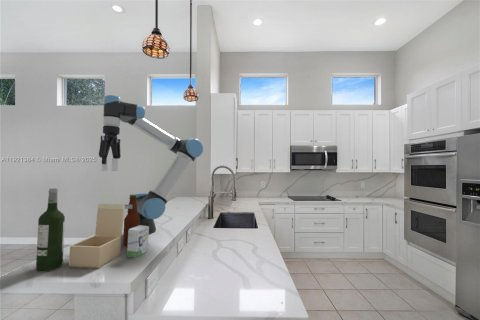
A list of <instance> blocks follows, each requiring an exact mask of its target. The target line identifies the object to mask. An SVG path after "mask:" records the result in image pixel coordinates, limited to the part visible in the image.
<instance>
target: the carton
mask: <svg viewBox="0 0 480 320" xmlns="http://www.w3.org/2000/svg"><path fill="white" fill-rule="evenodd" d="M121 240H122V236H121V237H120V236H95V235H93V236H90V237H88V238H87V239H84V240H81V241H79V242H77V243H75V244H72V245H69V264H68V268H80V269H101V268H102V267H104V266H105V265H107V264H109V263H110V262H112V261H114V260H115V259H116V258H118V257H120V256H121V247H122V246H121V245H122V241H121Z"/></svg>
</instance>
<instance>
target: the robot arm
mask: <svg viewBox="0 0 480 320" xmlns="http://www.w3.org/2000/svg"><path fill="white" fill-rule="evenodd" d="M103 99H104V100H103V118H102V119H103V120H102V122H103V126H102V134H104V135H100V143H99V150H98V157H99V158H101V170H100V171H101V172H108V171H109V157H108V155H109V152H110V150H111V155H112V158H111V172H118V167H119V166H118V165H119V162H118V161H119V159H121V139H120V138H118V136H119V135H120V131H121V130H120V127H121V122H123V123H125V124H129V125H130V126H132V127H134V128H136V129H137V130H139V131H140V132H142V133H144V134H146V135H147V136H149V137H150V138H152V139H154V140H155V141H157V142H159V143H160V144H161V145H164V146H165V147H166V148H167V149H168V150H169V151H171V152H173V153H174V154H175V155H176V157H175V159H174V160H173V162H172V163H171V164H170V166H169V167H168V169H167V170H166V171H165V173H164V175H163V176H162V178H161V179H160V180H159V182H158V183H157V184H156V186H155V188H154V189H151V190H149V191H148V192H146V193H135V194H134V195H137V196H136V198H137V199H136V203H137V214H138V216H139V217H140V225H143V226H149V235H150V234H154V233H155V232H156V231H157V226H156V222H155V220H156V219H159V218H160V217H162V216H163V215H164V213H165V211H166V204H167V203H168V201H169V199H168V197H169V196H170V194H171V192H172V190H173V189H174V187H176V185H177V184H178V181H179V180H180V178H181V176H182V175H183V174H184V172H185V170H186V169H187V167H188V166H189V165H190V164H193V163H194V162H195V160H196V159H197V158H198V157H200V156H201V155H202V154H203V152H204V145H203V143H202V142H201V141H200V139H198V138H188V139H180V138H178V137H177V136H173V135H172V134H169V133H168V132H167V131H165V130H164V129H161V128H160V127H158V126H157V125H155V124H154V123H152V122H151V121H149V120H148V119H146V118H145V117H146V116H145V115H146V108H145V106H144V105H141V104H136V103H129V102H124V101H122V98H121V97H120V96H117V95H115V94H114V95H113V94H108V95H105V96H104V98H103Z"/></svg>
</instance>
